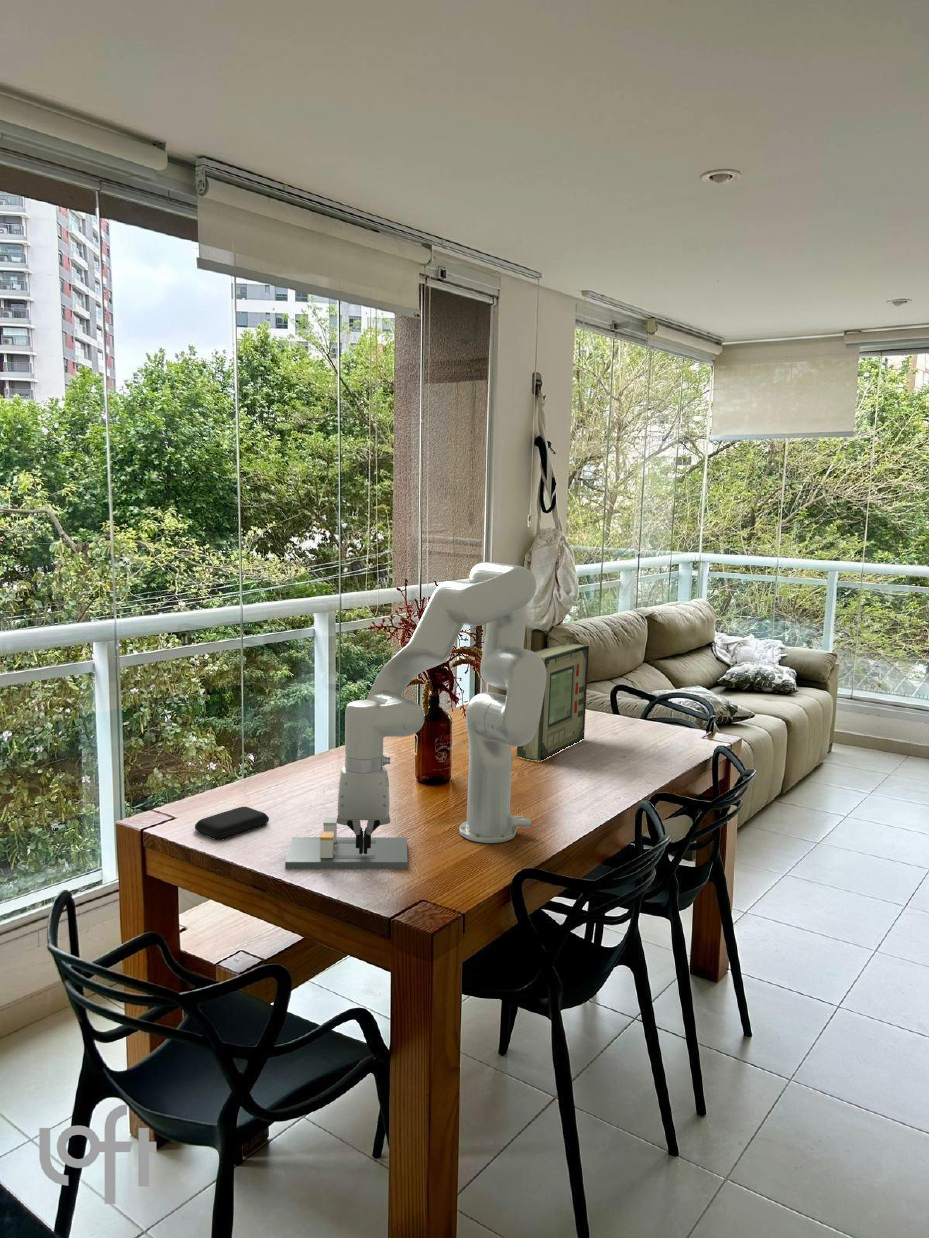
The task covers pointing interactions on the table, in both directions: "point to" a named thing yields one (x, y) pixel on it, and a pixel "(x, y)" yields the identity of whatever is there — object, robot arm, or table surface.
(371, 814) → the robot arm
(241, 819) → the carrying case or bag
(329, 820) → the breaker
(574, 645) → the control panel
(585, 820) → the table surface
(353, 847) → the grey slotted panel
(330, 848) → the block
